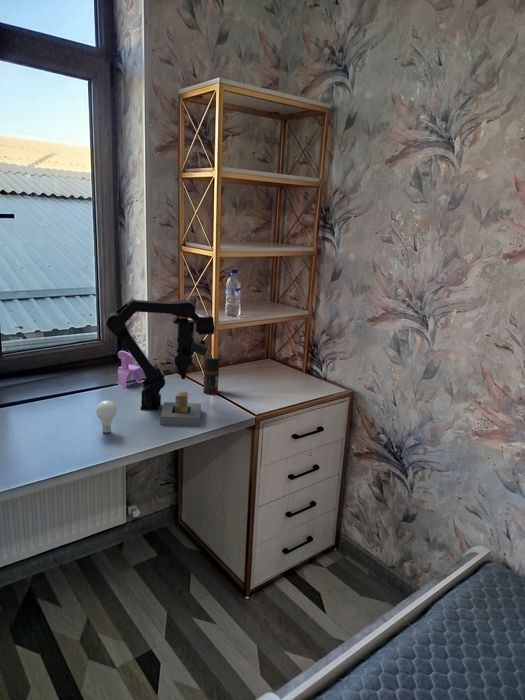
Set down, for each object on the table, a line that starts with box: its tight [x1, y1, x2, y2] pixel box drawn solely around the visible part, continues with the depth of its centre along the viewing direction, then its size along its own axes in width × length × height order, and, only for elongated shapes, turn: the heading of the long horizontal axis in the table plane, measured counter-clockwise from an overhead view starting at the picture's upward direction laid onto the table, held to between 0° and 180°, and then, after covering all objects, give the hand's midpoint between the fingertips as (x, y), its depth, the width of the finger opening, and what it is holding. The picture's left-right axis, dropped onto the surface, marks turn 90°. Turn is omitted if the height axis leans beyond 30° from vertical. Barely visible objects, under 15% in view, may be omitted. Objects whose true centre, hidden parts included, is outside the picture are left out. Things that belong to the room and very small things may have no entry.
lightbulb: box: [95, 399, 118, 434], centre depth 160 cm, size 6×6×11 cm
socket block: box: [159, 401, 202, 427], centre depth 176 cm, size 13×13×3 cm
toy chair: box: [115, 350, 142, 388], centre depth 204 cm, size 8×9×15 cm
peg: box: [174, 391, 189, 413], centre depth 176 cm, size 4×4×9 cm
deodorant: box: [202, 354, 220, 396], centre depth 202 cm, size 6×6×15 cm
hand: (184, 375), depth 185 cm, fingers open, 9 cm apart
